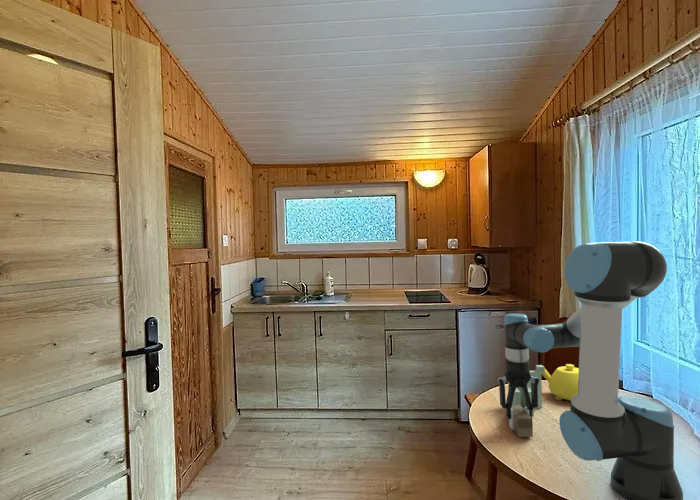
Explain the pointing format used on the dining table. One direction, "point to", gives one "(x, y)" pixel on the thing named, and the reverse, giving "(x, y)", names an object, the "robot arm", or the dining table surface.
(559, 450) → the dining table surface
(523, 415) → the rail
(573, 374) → the teapot
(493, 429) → the dining table surface
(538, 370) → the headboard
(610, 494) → the dining table surface
